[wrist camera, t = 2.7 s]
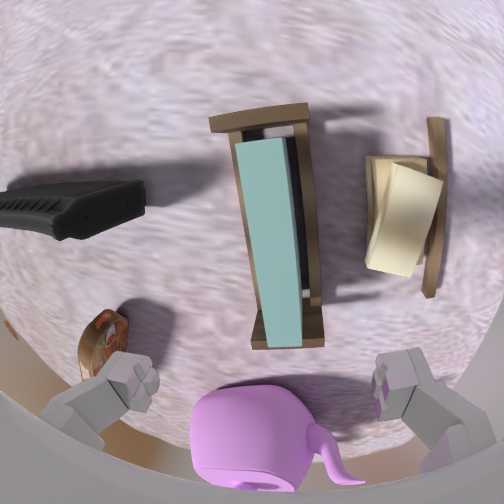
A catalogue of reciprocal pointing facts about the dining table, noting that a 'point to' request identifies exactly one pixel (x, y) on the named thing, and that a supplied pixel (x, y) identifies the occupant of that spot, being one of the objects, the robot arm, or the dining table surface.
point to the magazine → (72, 207)
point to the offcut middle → (380, 178)
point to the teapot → (260, 440)
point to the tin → (101, 342)
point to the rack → (299, 118)
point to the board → (273, 237)
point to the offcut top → (403, 221)
